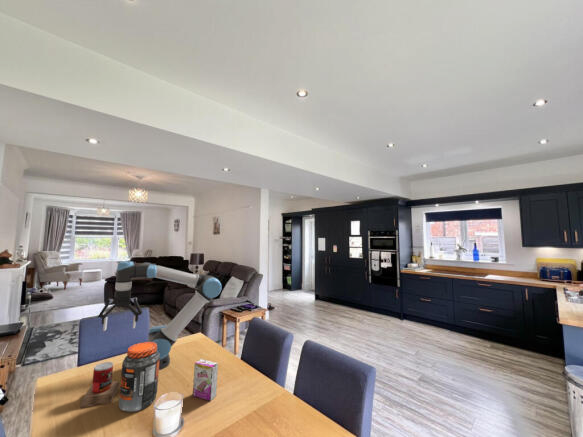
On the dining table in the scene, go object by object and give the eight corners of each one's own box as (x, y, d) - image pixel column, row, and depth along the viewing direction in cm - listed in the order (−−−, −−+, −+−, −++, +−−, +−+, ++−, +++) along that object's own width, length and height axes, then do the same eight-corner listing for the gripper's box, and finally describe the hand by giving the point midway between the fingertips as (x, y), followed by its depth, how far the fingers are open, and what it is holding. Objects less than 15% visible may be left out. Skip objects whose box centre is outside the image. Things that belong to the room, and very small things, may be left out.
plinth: (118, 388, 129) (119, 380, 129) (111, 402, 118) (111, 393, 118) (90, 392, 125) (91, 384, 125) (80, 407, 113) (81, 398, 114)
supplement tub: (117, 399, 120) (122, 344, 122) (153, 389, 129) (157, 337, 132) (119, 419, 107) (124, 357, 110) (159, 405, 117) (163, 348, 119)
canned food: (100, 394, 117) (103, 370, 118) (87, 392, 119) (89, 368, 120) (115, 385, 125) (117, 362, 126) (102, 383, 126) (104, 360, 127)
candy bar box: (191, 396, 124) (194, 362, 126) (198, 391, 129) (200, 358, 130) (210, 402, 120) (212, 367, 122) (216, 396, 125) (218, 362, 127)
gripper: (149, 287, 145) (146, 324, 143) (98, 289, 136) (94, 328, 134) (147, 289, 138) (144, 329, 136) (93, 291, 129) (89, 333, 127)
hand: (119, 329), depth 135 cm, fingers open, 13 cm apart
